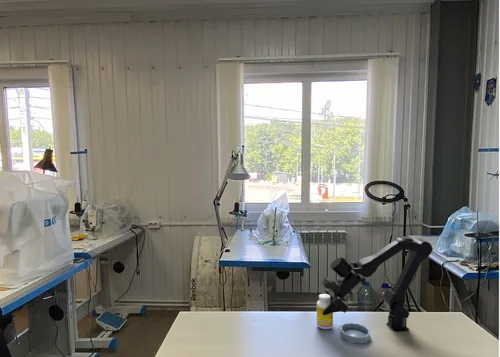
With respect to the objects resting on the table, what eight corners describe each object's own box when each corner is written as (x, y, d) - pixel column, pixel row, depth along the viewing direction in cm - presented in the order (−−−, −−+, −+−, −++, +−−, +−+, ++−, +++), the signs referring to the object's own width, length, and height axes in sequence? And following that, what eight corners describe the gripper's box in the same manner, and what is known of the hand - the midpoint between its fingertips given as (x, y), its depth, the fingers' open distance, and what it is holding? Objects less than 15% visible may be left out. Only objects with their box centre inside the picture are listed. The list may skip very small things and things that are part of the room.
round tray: (359, 327, 138) (359, 321, 137) (375, 341, 127) (375, 335, 127) (335, 330, 135) (335, 324, 135) (349, 345, 124) (349, 339, 124)
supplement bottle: (333, 330, 134) (333, 299, 133) (316, 329, 135) (316, 298, 134) (332, 322, 140) (332, 293, 140) (316, 321, 142) (316, 292, 141)
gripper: (328, 264, 146) (304, 288, 146) (340, 279, 127) (311, 307, 128) (346, 281, 146) (321, 305, 147) (360, 299, 127) (331, 326, 128)
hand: (321, 310), depth 137 cm, fingers closed on supplement bottle, 7 cm apart
